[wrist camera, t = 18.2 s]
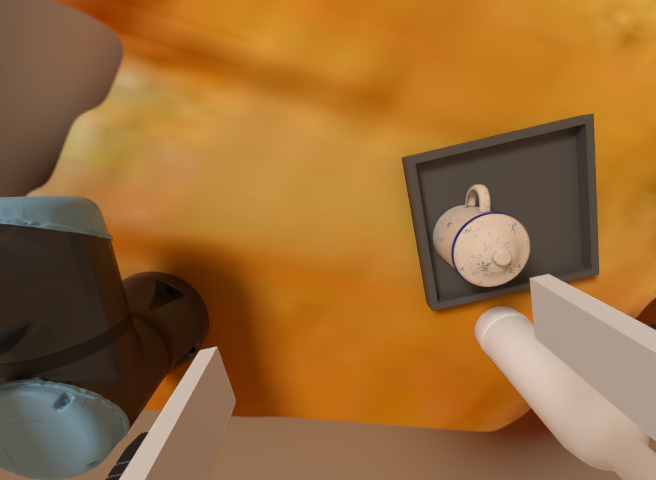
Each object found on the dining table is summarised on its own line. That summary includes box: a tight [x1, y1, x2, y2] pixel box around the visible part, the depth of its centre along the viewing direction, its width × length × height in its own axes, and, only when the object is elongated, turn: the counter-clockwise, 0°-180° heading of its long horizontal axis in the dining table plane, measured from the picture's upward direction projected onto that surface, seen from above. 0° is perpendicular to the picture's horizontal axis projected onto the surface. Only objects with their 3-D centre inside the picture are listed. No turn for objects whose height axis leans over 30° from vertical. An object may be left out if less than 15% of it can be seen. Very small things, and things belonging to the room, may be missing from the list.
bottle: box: [474, 306, 656, 480], centre depth 38 cm, size 8×8×30 cm
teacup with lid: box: [433, 184, 530, 287], centre depth 42 cm, size 12×9×12 cm
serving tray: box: [402, 114, 599, 311], centre depth 47 cm, size 24×22×2 cm
